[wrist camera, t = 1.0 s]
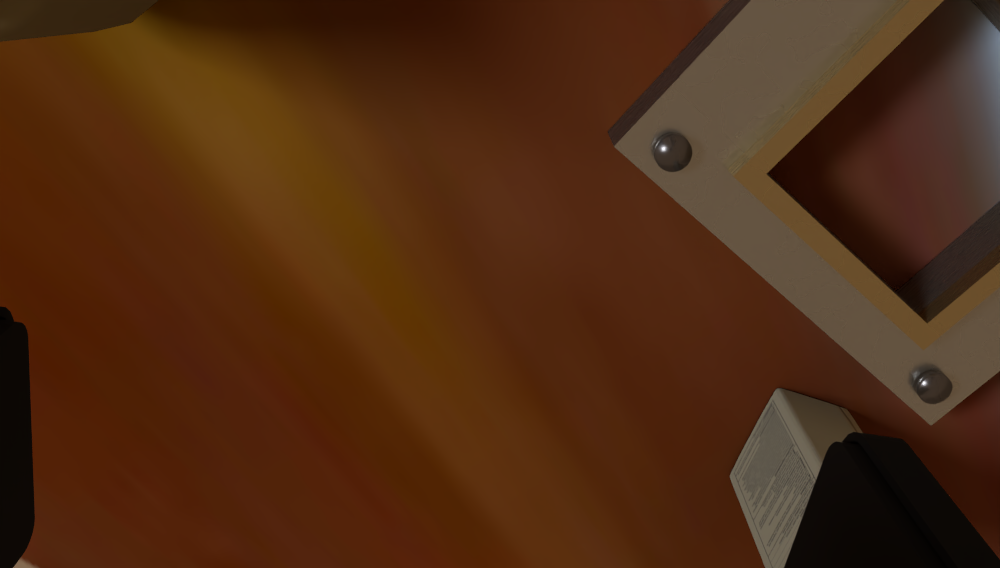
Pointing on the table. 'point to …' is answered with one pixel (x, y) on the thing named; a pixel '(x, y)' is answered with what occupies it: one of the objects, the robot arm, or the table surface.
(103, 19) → the squeeze bottle
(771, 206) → the picture frame
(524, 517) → the table surface
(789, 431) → the skincare box
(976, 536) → the robot arm
